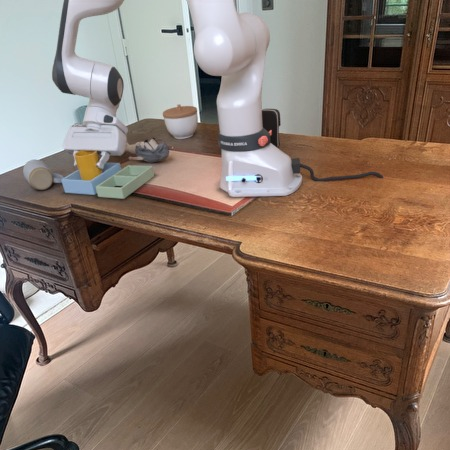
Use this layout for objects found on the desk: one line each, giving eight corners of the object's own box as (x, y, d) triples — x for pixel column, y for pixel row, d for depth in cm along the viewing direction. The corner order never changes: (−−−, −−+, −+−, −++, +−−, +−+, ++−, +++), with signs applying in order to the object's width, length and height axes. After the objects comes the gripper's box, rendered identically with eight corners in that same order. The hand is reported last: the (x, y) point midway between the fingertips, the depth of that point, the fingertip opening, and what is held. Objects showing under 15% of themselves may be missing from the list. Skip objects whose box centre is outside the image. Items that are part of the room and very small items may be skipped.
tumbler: (109, 178, 134) (101, 149, 129) (96, 187, 129) (87, 156, 124) (91, 177, 136) (83, 148, 131) (78, 186, 132) (69, 156, 126)
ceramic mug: (33, 194, 131) (24, 169, 127) (28, 186, 137) (19, 162, 132) (68, 184, 135) (61, 160, 131) (61, 177, 141) (54, 154, 137)
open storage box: (123, 175, 136) (119, 162, 134) (94, 194, 126) (90, 181, 123) (94, 174, 140) (91, 161, 138) (65, 192, 130) (60, 179, 127)
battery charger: (282, 144, 145) (281, 107, 138) (277, 148, 142) (276, 111, 135) (263, 143, 148) (262, 107, 141) (258, 146, 145) (256, 110, 139)
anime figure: (127, 134, 157) (175, 134, 136) (133, 155, 161) (181, 158, 140) (103, 142, 153) (150, 143, 131) (110, 163, 156) (156, 167, 135)
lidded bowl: (205, 131, 167) (202, 100, 161) (190, 141, 158) (185, 109, 152) (177, 130, 172) (172, 100, 165) (160, 140, 163) (155, 109, 156)
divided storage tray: (154, 175, 133) (152, 166, 132) (124, 198, 121) (121, 188, 119) (130, 174, 136) (128, 165, 135) (98, 196, 124) (95, 186, 122)
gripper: (64, 117, 132) (53, 161, 130) (121, 117, 124) (110, 164, 123) (77, 128, 138) (67, 170, 136) (132, 129, 130) (122, 173, 129)
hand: (88, 167), depth 130 cm, fingers closed on tumbler, 6 cm apart
